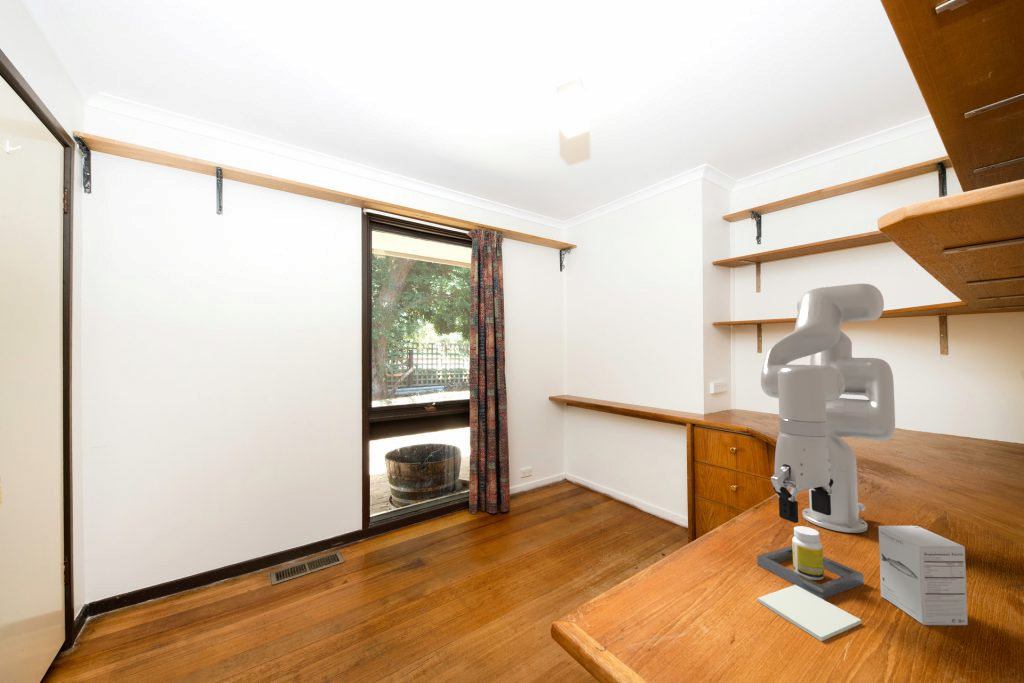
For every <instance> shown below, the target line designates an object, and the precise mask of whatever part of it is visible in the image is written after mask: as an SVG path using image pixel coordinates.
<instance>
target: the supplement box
mask: <svg viewBox="0 0 1024 683" xmlns="http://www.w3.org/2000/svg"><path fill="white" fill-rule="evenodd" d="M878 548H879V549H878V551H879V553H878V554H879V576H880V578H879V580H880V596H881V598H883V599H885V600H886V601H888V602H889V603H891V604H893V605H894V606H896V607H897V608H899V609H900V610H902V612H904V613H906V614H907V615H909V616H910V617H911V618H912V619H915V620H916V621H917V622H919V623H920V624H921V625H923V626H968V624H969V623H968V599H967V598H968V596H967V594H968V592H967V572H966V571H967V570H966V547H965V546H964V545H962V544H960V543H957V542H955V541H953V540H950V539H948V538H946V537H943V535H939V534H937V533H934V532H932V531H930V530H927V529H926V528H923V527H921V526H920V525H919V526H918V525H878Z"/></svg>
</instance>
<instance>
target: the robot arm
mask: <svg viewBox="0 0 1024 683" xmlns="http://www.w3.org/2000/svg"><path fill="white" fill-rule="evenodd" d="M796 308H797V315H796V321H795V324H794V325H795V326H794V330H793V331H792V332H790V333H788V334H786V335H784V336H783V338H781V339H779V340H778V341H777V342H776V343H774V344H773V345H772V346H771V347H770V348H769V349H768V351H767V352H766V355H765V357H764V361H763V365H762V370H761V375H760V386H761V389H762V391H763V392H764V393H765V395H767V396H768V397H770V398H773V399H774V398H775V399H778V417H779V418H778V422H779V424H778V425H779V427H778V429H779V434H778V435H777V440H776V445H775V452H774V453H775V455H774V473H773V475H772V476H771V477H770V481H771V483H772V486H773V490H774V492H775V493H776V497H778V514H779V515H778V516H779V517H780V518H781V519H784V520H786V521H788V522H792V523H794V524H796V523H799V502H798V500H796V499H797V497H798V494H799V492H800V491H806V490H808V497H809V498H808V499H809V507H808V508H807V507H806V508H804V509H802V517H803V519H804V520H806V521H807V522H809V523H811V524H813V525H816V526H818V527H821V528H824V529H827V530H831V531H834V532H835V531H836V532H839V533H840V532H842V533H849V534H850V533H851V534H860V533H861V534H862V533H865V532H867V530H868V523H867V522H866V520H864V519H862V518H860V517H859V515H860V514H859V513H860V512H862V511H863V512H864V511H865V510H866V506H865V505H864V503H862V502H859V498H858V496H859V495H858V476H857V475H858V474H857V469H858V468H857V458H856V453H855V450H853V449H852V447H851V446H850V444H848V443H847V442H846V441H845V440H844V439H843V438H853V439H854V438H856V439H864V440H871V441H887V440H890V439H892V438H893V437H894V435H895V431H896V410H895V408H896V406H895V405H896V404H895V384H894V375H893V374H894V373H893V371H892V368H891V366H890V364H889V363H888V362H887V361H886V360H884V359H883V358H882V359H881V358H877V357H853V356H852V354H853V348H852V347H853V342H852V340H851V339H850V337H849V336H848V335H847V334H846V333H845V332H843V331H842V330H841V329H842V323H849V322H850V323H851V322H852V323H853V322H868V321H869V322H872V321H876V320H878V319H880V318H881V316H882V314H883V312H884V308H885V300H884V296H883V294H882V291H880V290H879V288H878V287H876V286H875V285H873V284H870V283H852V284H841V285H834V286H826V287H824V286H823V287H817V288H814V289H810V290H809V291H807V292H805V293H804V294H803V295H802V296H801V297H800V298H799V299H798V301H797V305H796ZM805 357H810V360H809V363H810V364H790V363H791V362H793V361H796V360H798V359H802V358H805ZM842 395H849V396H850V395H851V396H864V397H866V398H867V399H863V398H862V399H859V398H845V397H841V396H842ZM788 489H790V491H789V490H788Z"/></svg>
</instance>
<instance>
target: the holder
mask: <svg viewBox="0 0 1024 683" xmlns="http://www.w3.org/2000/svg"><path fill="white" fill-rule="evenodd" d="M756 556H757V562H756V564H757V565H758V566H759V567H762V568H764V570H767V571H769V572H770V573H772V574H775V575H776V576H778V577H780V578H782V579H783V580H785V581H788V582H790V583H791V584H793V585H797V586H799V587H801V588H802V589H804V590H806V591H808V592H810V593H812V594H814V595H816V596H817V597H819V598H821V599H823V600H826V599H829V598H831V597H834V596H836V595H839V594H841V593H844V592H846V590H847V591H849V590H852V589H855V588H857V587H859V586H861V585H864V584H865V581H864V580H865V579H864V578H865V577H864V573H862V572H860V571H857V570H855V569H854V568H850V567H848V566H846V565H843V564H841V563H839V562H837V561H835V560H833V559H830V558H828V557H827V556H826V557H825V556H824V555H823V569H825V570H827V571H829V572H832V573H833V574H836V575H838V576H839V577H838V578H834V579H831V580H829V581H827V582H826V581H825V582H823V583H821V584H819V583H817V582H816V581H815V580H811V579H808V578H806V577H804V576H802V575H800V574H798V573H796V572H795V571H794V570H793V569H790V568H788V567H785V566H784V565H783V564H780V562H784V561H787V560H790V559H793V549H792V545H789V546H785V547H783V548H778V549H775V550H772V551H769V552H768V551H767V552H765V553H761V554H759V555H756ZM842 576H843V577H842ZM843 591H844V592H843Z"/></svg>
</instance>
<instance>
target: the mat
mask: <svg viewBox="0 0 1024 683" xmlns="http://www.w3.org/2000/svg"><path fill="white" fill-rule="evenodd" d="M757 602H758V603H760V604H761V605H762V606H764V607H766V608H767V609H769V610H770V611H772V612H773V613H776V614H777V615H779V616H780V617H782V618H783V619H785V620H786V621H788V622H790V623H791V624H793V625H794V626H796V627H797V628H799V629H801V630H803V632H805V633H807V634H809V635H810V636H812V637H813V638H815V639H816V640H818V641H820V642H823V641H826V640H828V639H830V638H832V637H834V636H836V635H839V634H841V633H843V632H846V631H848V630H850V629H853V628H855V627H856V626H859V625H861V624H862V620H861V619H860V618H859V617H857V616H855V615H853V614H851V613H849V612H847V611H846V610H844V609H842V608H839V607H838V606H836V605H835V604H832V603H830V602H828V601H827V600H826V599H821V598H819V597H817V596H816V595H814V594H812V593H810V592H808V591H806V590H804V589H802V588H801V587H799V586H797V585H795V584H793V585H790V586H788V587H784V588H782V589H779V590H777V591H776V590H775V591H774V592H771V593H767V594H765V595H763V596H759V597H757Z"/></svg>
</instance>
